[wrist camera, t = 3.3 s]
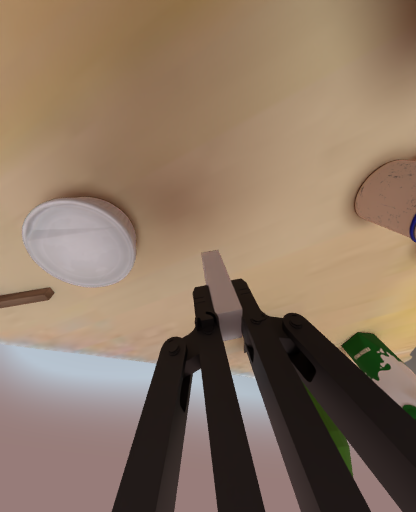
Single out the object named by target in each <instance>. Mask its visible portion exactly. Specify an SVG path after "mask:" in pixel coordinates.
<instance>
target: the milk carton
mask: <svg viewBox="0 0 416 512" xmlns="http://www.w3.org/2000/svg"><path fill="white" fill-rule="evenodd" d="M342 347H343V348H344V350H345V351H346V352H347V353H348V354H349V356H350V357H351V358H352V359H353V361H354V362H355V363H356V364H357V365H358V367H359V368H360V369H361V370H362V371H363V372H364V373H365V374H366V375H367V376H368V377H369V378H370V379H371V380H372V381H374V382H375V383H376V384H377V385H378V386H379V387H380V388H381V389H382V390H383V391H384V392H385V393H387V394H388V395H389V396H390V397H391V398H392V399H393V400H394V401H395V402H396V403H397V404H398V405H400V406H401V407H402V408H403V409H404V410H405V411H406V412H407V413H408V414H409V415H410V416H411V417H413V418H414V419H415V420H416V375H415V374H414V373H413V372H412V371H411V370H410V369H409V368H408V367H407V366H406V365H405V364H404V363H403V362H402V361H401V360H400V359H399V358H398V357H397V356H396V355H395V354H394V353H393V352H392V351H391V350H390V349H389V348H388V347H387V346H386V345H385V344H384V343H383V342H382V341H381V340H379V339H378V338H377V337H376V336H375V335H374V334H369V333H360V332H358V333H357V334H355V335H354V336H353V337H352V338H351V339H349V340H348V341H347V342H346V343H344V344H343V345H342Z"/></svg>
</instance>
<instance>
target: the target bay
mask: <svg viewBox="0 0 416 512" xmlns="http://www.w3.org/2000/svg"><path fill="white" fill-rule="evenodd" d="M53 294H54V292H53V291H52V289H51V288H45V289H39V290H33V291H27V292H21V293H14V294H8V295H2V296H0V308H4V307H10V306H16V305H22V304H28V303H34V302H40V301H46V300H49V299H50V298H51V297H52V296H53Z"/></svg>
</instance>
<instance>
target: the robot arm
mask: <svg viewBox="0 0 416 512" xmlns="http://www.w3.org/2000/svg"><path fill="white" fill-rule="evenodd" d="M201 254H202V261H203V269H204V276H205V281H206V285H205V286H200V287H195V289H194V291H193V299H194V307H195V316H196V317H195V328H194V330H193V331H192V332H191V333H190V334H189V335H187V336H185V337H183V338H181V337H171V338H170V339H168V340H167V341H166V342H165V343H164V344H163V346H162V348H161V351H160V354H159V358H158V361H157V364H156V368H155V371H154V374H153V378H152V381H151V384H150V387H149V391H148V394H147V397H146V401H145V404H144V407H143V410H142V414H141V417H140V421H139V424H138V427H137V430H136V434H135V437H134V440H133V444H132V447H131V450H130V454H129V457H128V460H127V464H126V467H125V470H124V473H123V476H122V480H121V483H120V486H119V490H118V493H117V496H116V500H115V503H114V506H113V509H112V512H174V508H175V501H176V493H177V486H178V479H179V471H180V464H181V457H182V449H183V442H184V435H185V426H186V420H187V413H188V405H189V398H190V390H191V383H192V376H193V373H194V372H196V371H197V370H199V369H200V368H201V371H202V380H203V389H204V397H205V405H206V414H207V423H208V431H209V440H210V448H211V457H212V465H213V473H214V482H215V490H216V499H217V508H218V512H265V509H264V505H263V501H262V497H261V493H260V488H259V484H258V480H257V476H256V472H255V468H254V464H253V460H252V456H251V452H250V448H249V444H248V440H247V436H246V432H245V428H244V424H243V420H242V415H241V412H240V408H239V403H238V399H237V395H236V391H235V387H234V383H233V379H232V375H231V371H230V367H229V363H228V359H227V355H226V351H225V346H224V342H223V341H226V340H231V339H236V338H241V337H242V335H243V337H244V353H246V352H247V354H248V357H249V360H250V363H251V366H252V369H253V372H254V375H255V378H256V381H257V384H258V387H259V390H260V393H261V395H262V398H263V401H264V404H265V407H266V410H267V413H268V416H269V419H270V421H271V425H272V428H273V431H274V433H275V436H276V439H277V442H278V445H279V448H280V451H281V454H282V457H283V460H284V463H285V466H286V469H287V472H288V475H289V477H290V481H291V483H292V486H293V489H294V492H295V495H296V498H297V501H298V504H299V507H300V510H301V512H371V511H370V509H369V507H368V505H367V503H366V501H365V499H364V497H363V496H362V494H361V492H360V490H359V488H358V486H357V484H356V482H355V481H354V479H353V477H352V475H351V473H350V471H349V469H348V467H347V465H346V464H345V462H344V460H343V458H342V456H341V454H340V452H339V450H338V449H337V447H336V445H335V443H334V441H333V439H332V437H331V435H330V433H329V432H328V430H327V428H326V426H325V424H324V422H323V420H322V418H321V417H320V415H319V413H318V411H317V409H316V407H315V405H314V403H313V401H312V400H311V398H310V396H309V394H308V392H307V390H306V388H305V386H306V387H307V389H308V390H309V391H310V392H311V394H312V395H313V396H314V398H315V399H316V400H317V402H318V403H319V404H320V405H321V407H322V408H323V409H324V411H325V412H326V413H327V414H328V416H329V417H330V418H331V420H332V421H333V422H334V424H335V425H336V426H337V427H338V429H339V430H340V431H341V433H342V434H343V435H344V436H345V438H346V439H347V440H348V441H349V443H350V444H351V446H352V447H353V448H354V449H355V451H356V452H357V453H358V455H359V456H360V457H361V458H362V460H363V461H364V462H365V464H366V465H367V466H368V468H369V469H370V470H371V471H372V473H373V474H374V475H375V477H376V478H377V479H378V480H379V482H380V483H381V484H382V485H383V487H384V488H385V490H386V491H387V492H388V493H389V495H390V496H391V497H392V499H393V500H394V501H395V502H396V504H397V505H398V506H399V508H400V509H401V510H402V512H416V420H415V419H414V418H413V417H411V416H410V415H409V414H408V413H407V412H406V411H405V410H404V409H403V408H402V407H401V406H400V405H398V404H397V403H396V402H395V401H394V400H393V399H392V398H391V397H390V396H389V395H388V394H387V393H385V392H384V391H383V390H382V389H381V388H380V387H379V386H378V385H377V384H376V383H375V382H374V381H372V380H371V379H370V378H369V377H368V376H367V375H366V374H365V373H364V372H363V371H362V370H361V369H359V368H358V367H357V366H356V365H355V364H354V363H353V362H352V361H351V360H350V359H349V358H348V357H347V356H345V355H344V354H343V353H342V352H341V351H340V350H339V349H338V348H337V347H336V346H335V345H334V344H332V343H331V342H330V341H329V340H328V339H327V338H326V337H325V336H324V335H323V334H322V333H321V332H319V331H318V330H317V329H316V328H315V327H314V326H313V325H312V324H311V323H310V322H309V321H308V320H306V319H305V318H304V317H303V316H301V315H299V314H296V313H288V314H286V315H285V316H284V318H278V317H270V316H268V315H266V314H265V313H263V312H262V311H261V310H260V308H259V307H258V305H257V303H256V301H255V299H254V297H253V295H252V293H251V291H250V289H249V287H248V285H247V283H246V282H245V281H244V280H242V279H236V280H230V278H229V275H228V273H227V270H226V268H225V265H224V263H223V260H222V258H221V255H220V253H219V251H218V250H215V251H209V252H203V253H201ZM302 382H303V383H304V385H305V386H304V385H303V383H302Z"/></svg>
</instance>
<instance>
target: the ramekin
mask: <svg viewBox="0 0 416 512" xmlns="http://www.w3.org/2000/svg"><path fill="white" fill-rule="evenodd" d="M22 238H23V242H24V245H25V247H26V250H27V251H28V253H29V255H30V256H31V258H32V259H33V260H34V261H35V262H36V263H37V264H38V265H39V266H40V267H41V268H42V269H43V270H45V271H46V272H47V273H49V274H50V275H52V276H54V277H56V278H57V279H60V280H62V281H64V282H67V283H70V284H73V285H77V286H82V287H104V286H108V285H112V284H115V283H117V282H119V281H120V280H122V279H123V278H125V277H126V276H127V275H128V273H129V272H130V271H131V269H132V267H133V265H134V262H135V259H136V234H135V230H134V227H133V225H132V223H131V221H130V220H129V218H128V217H127V216H126V214H124V213H123V212H122V211H121V210H120V209H119V208H117V207H116V206H114V205H113V204H111V203H109V202H107V201H104V200H102V199H98V198H92V197H77V198H57V199H52V200H49V201H46V202H44V203H42V204H40V205H38V206H36V207H35V208H34V209H33V210H31V212H30V213H29V214H28V215H27V217H26V218H25V220H24V223H23V226H22Z"/></svg>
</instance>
